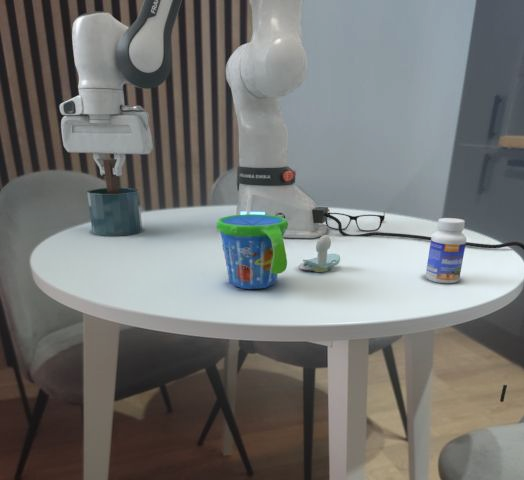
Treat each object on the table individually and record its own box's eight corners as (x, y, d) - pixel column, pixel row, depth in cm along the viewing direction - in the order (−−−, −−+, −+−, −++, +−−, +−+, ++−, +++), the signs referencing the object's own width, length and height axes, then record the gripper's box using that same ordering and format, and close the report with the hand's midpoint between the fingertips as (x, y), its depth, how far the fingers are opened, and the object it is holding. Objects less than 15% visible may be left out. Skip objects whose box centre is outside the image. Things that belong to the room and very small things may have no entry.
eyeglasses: (322, 229, 119) (323, 212, 117) (328, 219, 132) (329, 203, 130) (382, 233, 116) (384, 215, 114) (383, 221, 129) (385, 206, 127)
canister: (151, 228, 119) (147, 189, 115) (125, 237, 109) (120, 195, 106) (110, 224, 122) (106, 186, 118) (82, 233, 112) (76, 192, 109)
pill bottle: (440, 285, 80) (450, 224, 75) (418, 276, 84) (426, 218, 80) (466, 281, 82) (477, 221, 77) (443, 273, 86) (452, 216, 82)
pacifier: (290, 269, 88) (315, 276, 83) (291, 234, 85) (316, 238, 81) (319, 263, 92) (344, 268, 88) (320, 228, 90) (346, 233, 85)
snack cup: (204, 274, 84) (202, 213, 80) (260, 267, 88) (261, 209, 84) (242, 303, 71) (241, 231, 67) (305, 293, 75) (308, 225, 71)
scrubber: (129, 214, 114) (123, 158, 109) (119, 217, 110) (112, 160, 105) (113, 213, 115) (106, 158, 110) (102, 216, 111) (94, 159, 106)
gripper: (155, 105, 103) (160, 175, 109) (71, 106, 108) (81, 172, 114) (139, 105, 97) (146, 179, 103) (52, 105, 103) (63, 175, 109)
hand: (111, 175), depth 109 cm, fingers closed on scrubber, 2 cm apart
